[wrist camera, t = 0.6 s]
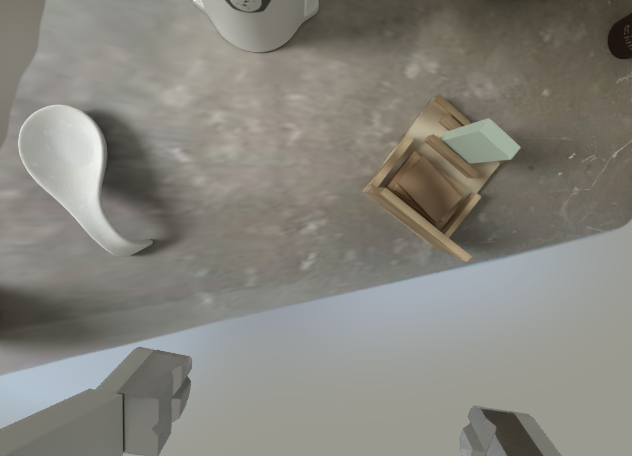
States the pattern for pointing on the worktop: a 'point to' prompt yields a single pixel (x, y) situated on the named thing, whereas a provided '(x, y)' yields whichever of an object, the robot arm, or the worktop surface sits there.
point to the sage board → (480, 142)
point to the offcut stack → (426, 189)
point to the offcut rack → (428, 144)
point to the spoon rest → (73, 170)
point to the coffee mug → (621, 38)
